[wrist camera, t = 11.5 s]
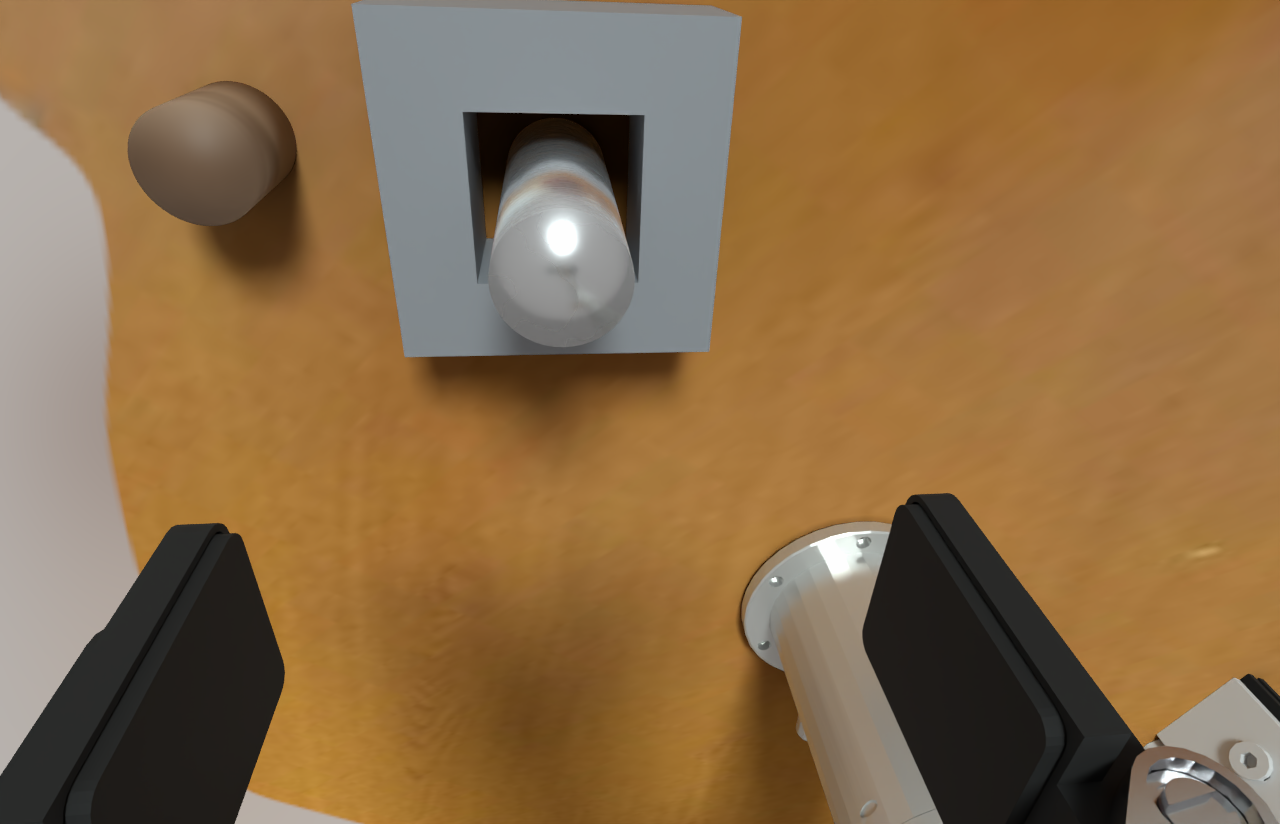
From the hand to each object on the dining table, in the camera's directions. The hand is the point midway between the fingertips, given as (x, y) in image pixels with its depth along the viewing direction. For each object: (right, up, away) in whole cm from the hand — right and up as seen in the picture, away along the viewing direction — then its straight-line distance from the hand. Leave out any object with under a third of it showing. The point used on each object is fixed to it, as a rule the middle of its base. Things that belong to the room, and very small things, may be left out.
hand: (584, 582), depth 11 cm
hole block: (-3, +12, +19) cm, 23 cm away
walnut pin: (-15, +13, +18) cm, 26 cm away
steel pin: (-3, +12, +19) cm, 23 cm away
